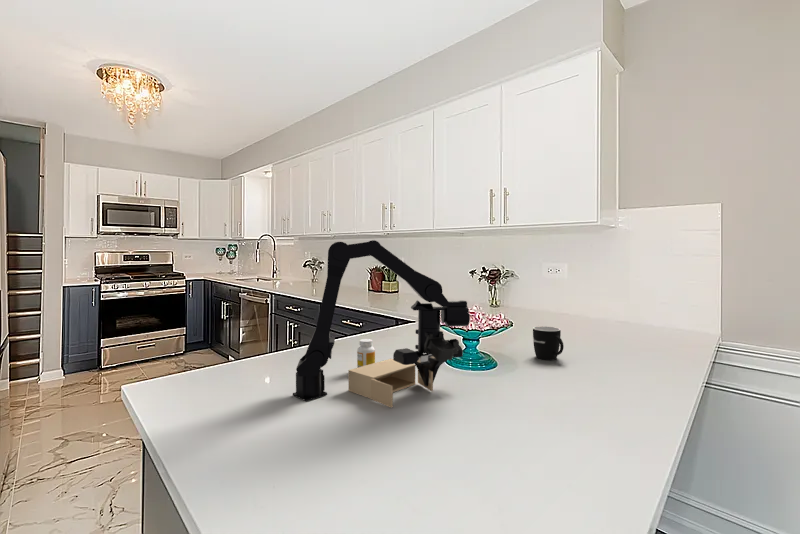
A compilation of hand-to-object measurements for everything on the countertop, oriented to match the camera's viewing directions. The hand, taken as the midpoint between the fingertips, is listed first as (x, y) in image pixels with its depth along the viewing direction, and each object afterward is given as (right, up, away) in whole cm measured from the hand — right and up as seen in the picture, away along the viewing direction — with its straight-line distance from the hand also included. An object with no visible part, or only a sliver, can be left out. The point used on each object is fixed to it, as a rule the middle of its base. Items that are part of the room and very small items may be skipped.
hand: (428, 385), depth 112 cm
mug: (+43, 0, +32) cm, 54 cm away
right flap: (-1, -1, +1) cm, 2 cm away
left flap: (-12, -1, -10) cm, 16 cm away
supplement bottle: (-18, -1, +17) cm, 25 cm away
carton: (-12, -1, +2) cm, 12 cm away
